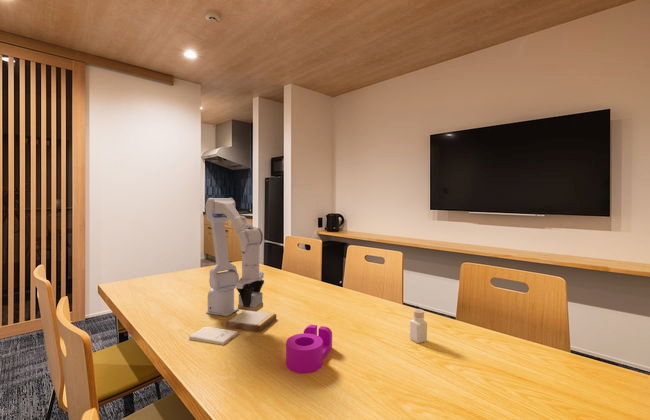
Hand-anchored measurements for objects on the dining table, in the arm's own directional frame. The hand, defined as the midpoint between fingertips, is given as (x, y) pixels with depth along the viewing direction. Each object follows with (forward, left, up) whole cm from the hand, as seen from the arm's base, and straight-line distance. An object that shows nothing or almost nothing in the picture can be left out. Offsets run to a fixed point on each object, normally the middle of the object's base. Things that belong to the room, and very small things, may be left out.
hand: (250, 303), depth 109 cm
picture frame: (-2, +4, -8) cm, 9 cm away
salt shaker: (+55, +8, -9) cm, 56 cm away
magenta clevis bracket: (+26, -13, -9) cm, 30 cm away
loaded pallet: (0, 0, -1) cm, 1 cm away
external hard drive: (-8, -9, -9) cm, 15 cm away
